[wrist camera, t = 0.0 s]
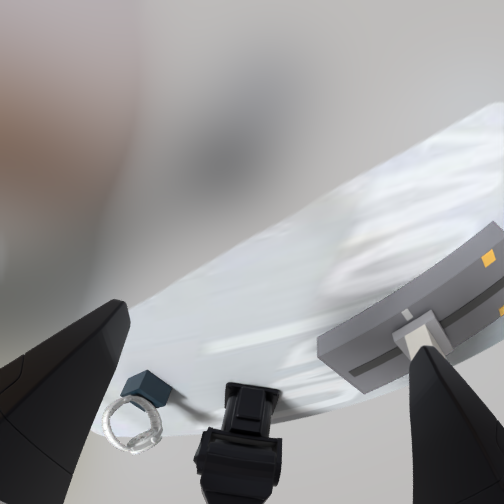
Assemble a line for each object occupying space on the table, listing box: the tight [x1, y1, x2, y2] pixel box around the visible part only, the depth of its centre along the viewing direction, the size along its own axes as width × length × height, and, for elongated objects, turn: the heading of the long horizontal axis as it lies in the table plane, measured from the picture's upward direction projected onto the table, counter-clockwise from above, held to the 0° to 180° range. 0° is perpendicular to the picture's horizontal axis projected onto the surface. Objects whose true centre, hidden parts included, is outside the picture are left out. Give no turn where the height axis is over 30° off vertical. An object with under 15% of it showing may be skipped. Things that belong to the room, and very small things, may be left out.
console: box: [317, 221, 504, 394], centre depth 24 cm, size 20×9×3 cm, turn 134°
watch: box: [102, 370, 172, 454], centre depth 33 cm, size 6×8×11 cm
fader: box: [392, 310, 454, 361], centre depth 20 cm, size 4×6×8 cm, turn 44°
